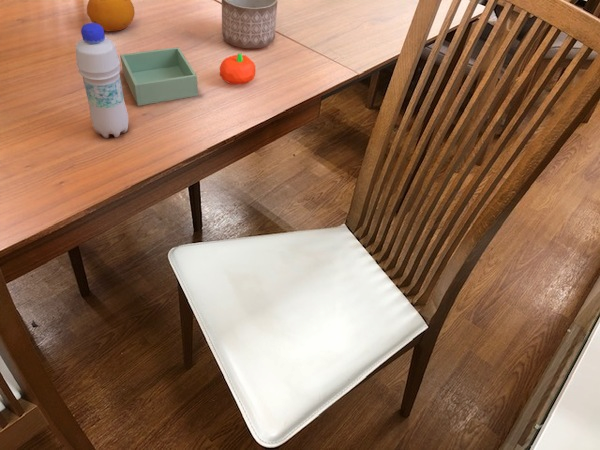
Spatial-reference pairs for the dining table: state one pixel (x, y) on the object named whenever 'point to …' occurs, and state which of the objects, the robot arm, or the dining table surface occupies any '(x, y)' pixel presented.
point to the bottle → (102, 81)
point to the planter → (249, 22)
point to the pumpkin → (237, 69)
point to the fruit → (111, 13)
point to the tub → (159, 75)
